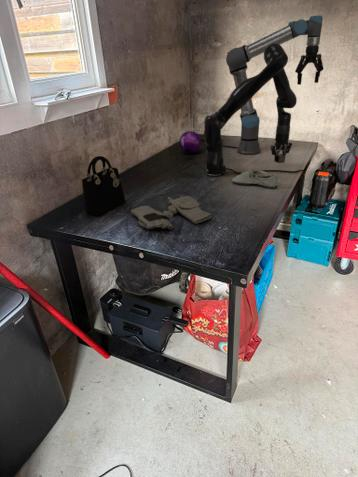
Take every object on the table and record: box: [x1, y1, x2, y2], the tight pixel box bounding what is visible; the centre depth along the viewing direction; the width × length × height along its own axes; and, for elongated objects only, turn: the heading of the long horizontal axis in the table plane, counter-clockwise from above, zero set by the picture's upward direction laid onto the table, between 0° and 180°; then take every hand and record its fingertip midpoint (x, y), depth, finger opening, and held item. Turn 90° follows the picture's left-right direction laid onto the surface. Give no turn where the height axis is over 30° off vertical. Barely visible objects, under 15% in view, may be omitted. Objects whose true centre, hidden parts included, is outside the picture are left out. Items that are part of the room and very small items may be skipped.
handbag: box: [81, 155, 126, 217], centre depth 153 cm, size 21×9×25 cm, turn 148°
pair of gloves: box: [130, 195, 212, 230], centre depth 145 cm, size 30×26×5 cm
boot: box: [203, 115, 210, 145], centre depth 250 cm, size 9×24×20 cm, turn 168°
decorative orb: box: [178, 130, 202, 154], centre depth 230 cm, size 15×15×15 cm
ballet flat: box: [231, 169, 279, 189], centre depth 173 cm, size 8×24×8 cm, turn 61°
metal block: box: [273, 153, 287, 164], centre depth 196 cm, size 4×4×4 cm
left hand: (279, 161), depth 197 cm, fingers closed on metal block, 4 cm apart
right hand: (307, 83), depth 213 cm, fingers open, 13 cm apart
